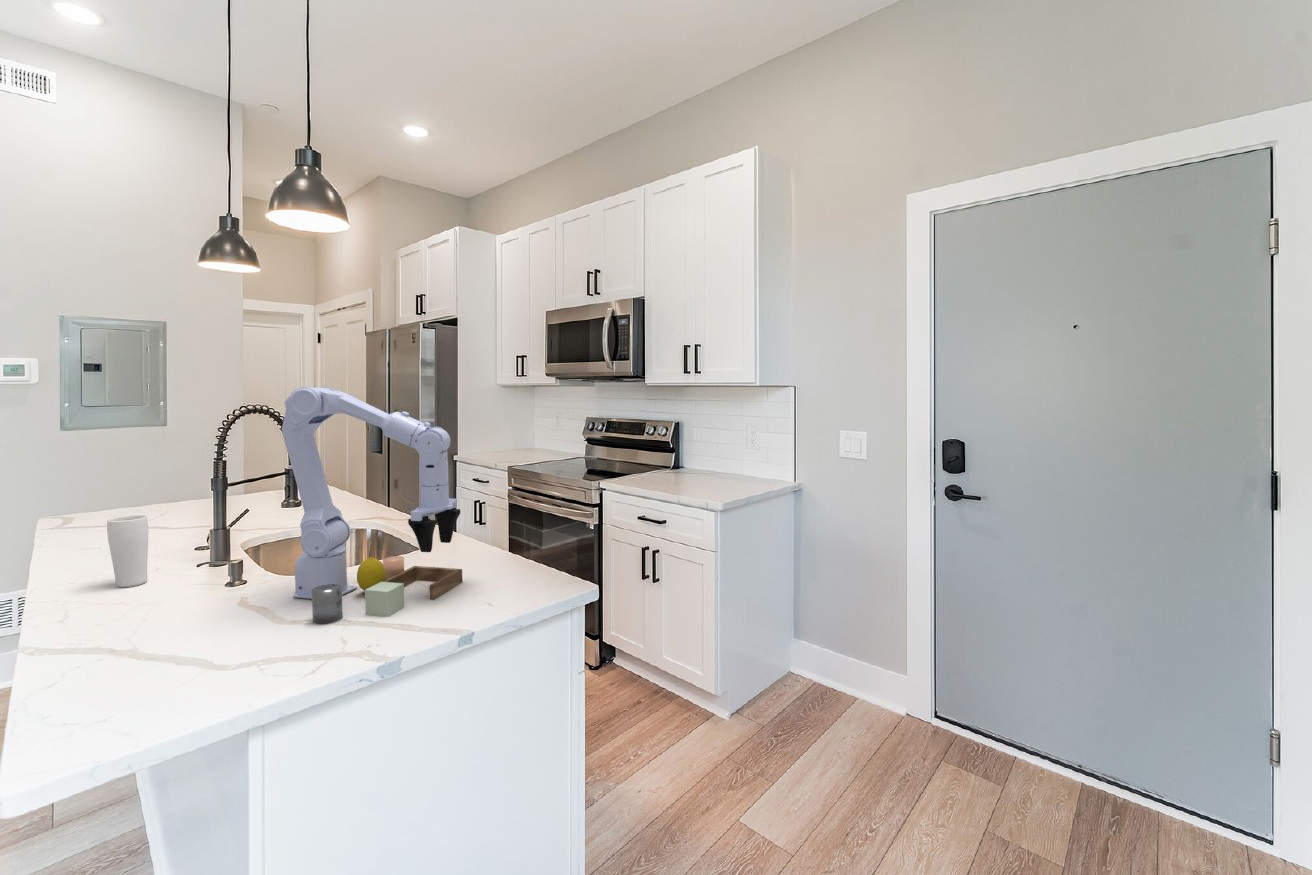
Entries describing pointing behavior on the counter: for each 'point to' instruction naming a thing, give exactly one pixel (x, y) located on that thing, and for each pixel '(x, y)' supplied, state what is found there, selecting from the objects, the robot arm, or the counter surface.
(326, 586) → the can
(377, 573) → the lemon
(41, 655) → the counter surface
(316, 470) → the robot arm
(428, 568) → the corral
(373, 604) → the block
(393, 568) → the peach rounded cylinder
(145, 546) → the drinking glass
